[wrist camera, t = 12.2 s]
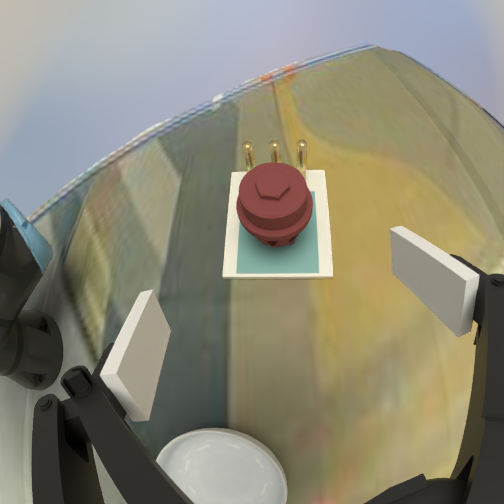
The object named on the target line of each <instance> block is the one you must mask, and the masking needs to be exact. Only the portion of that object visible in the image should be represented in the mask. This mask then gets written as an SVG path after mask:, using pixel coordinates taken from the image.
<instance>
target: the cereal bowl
mask: <svg viewBox="0 0 504 504" xmlns="http://www.w3.org/2000/svg"><path fill="white" fill-rule="evenodd" d="M156 462H157V463H158V464H159V465H160V467H161V468H162V469H163V470H164V471H165V472H166V474H167V475H168V476H169V477H170V478H171V479H172V480H173V481H174V483H175V484H176V485H177V486H178V487H179V488H180V489H181V490H182V491H183V492H184V493H185V494H186V495H187V496H188V497H189V499H190V500H191V501H192V502H193V503H194V504H286V501H287V494H288V491H287V489H288V487H287V479H286V476H285V472H284V470H283V468H282V466H281V464H280V462H279V461H278V459H277V458H276V456H275V455H274V454H273V453H272V452H271V450H269V449H268V448H267V447H266V446H265V445H263V444H262V443H261V442H259V441H258V440H256V439H254V438H253V437H251V436H249V435H247V434H244V433H242V432H238V431H235V430H231V429H225V428H204V429H197V430H194V431H190V432H187V433H185V434H182V435H180V436H178V437H176V438H175V439H173V440H172V441H170V442H169V443H168V444H167V445H166V446H165V447H164V448H163V449H162V451H161V452H160V454H159V455H158V457H157V459H156Z"/></svg>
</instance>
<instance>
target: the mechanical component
mask: <svg viewBox="0 0 504 504" xmlns="http://www.w3.org/2000/svg"><path fill="white" fill-rule="evenodd" d="M236 210H237V214H238V217H239V220H240V222H241V224H242V226H243V227H244V229H245V230H246V231H247V232H249V233H250V234H251V235H253V236H255V237H257V239H258V240H259V241H261V242H262V243H263V244H265V245H267V246H271V247H282V246H285V245H292V244H294V242H295V239H296V238H297V236H298V234H299V233H300V232H301V231H302V230H304V228H305V227H306V226H307V224H308V223H309V221H310V219H311V216H312V210H313V199H312V195H311V192H310V190H309V189H308V187H307V183H306V181H305V179H304V177H303V175H302V174H301V173H300V172H299V171H298V170H297V169H295V168H294V167H292V166H290V165H287V164H284V163H278V162H271V163H264V164H261V165H258V166H256V167H254V168H253V169H251V170H250V171H249V172H247V173H246V174H245V176H244V177H243V179H242V180H241V182H240V185H239V195H238V197H237V202H236Z"/></svg>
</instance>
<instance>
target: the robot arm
mask: <svg viewBox="0 0 504 504" xmlns="http://www.w3.org/2000/svg"><path fill="white" fill-rule="evenodd" d="M390 238H391V252H392V272H393V274H394V275H395V276H396V277H397V278H398V279H399V280H400V281H401V282H402V283H403V284H404V285H406V286H407V287H408V288H409V289H410V290H411V291H412V292H413V293H414V294H415V295H416V296H417V297H418V298H419V299H420V300H421V301H422V302H423V303H424V304H425V305H426V306H427V307H428V308H429V309H430V310H431V311H432V312H433V313H434V314H435V315H436V316H437V317H438V318H439V319H440V320H441V321H442V322H443V323H444V324H445V325H446V326H447V327H448V328H449V329H450V330H451V331H452V332H453V333H454V334H455V335H456V336H457V337H460V336H462V335H464V334H466V333H468V332H470V331H471V328H472V323H473V320H474V321H475V322H476V323H478V327H477V332H476V337H475V341H474V345H476V353H475V365H474V375H473V383H472V391H471V397H470V404H469V410H468V415H467V420H466V425H465V430H464V435H463V439H462V443H461V448H460V452H459V455H458V459H457V462H456V465H455V468H454V470H453V472H452V474H451V477H450V478H436V479H429V480H426V478H425V476H424V474H420V475H418V476H416V477H414V478H412V479H409V480H407V481H405V482H402V483H400V484H398V485H395V486H393V487H390V488H389V489H387V490H385V491H384V492H382V493H381V494H379V495H378V496H376V497H374V498H373V499H371V500H369V501H368V502H366V503H364V504H504V275H503V274H491V275H487V274H486V273H484V272H483V271H481V270H480V269H478V268H477V267H475V266H474V265H473V266H472V264H471V263H469V262H467V261H466V260H464V259H463V258H461V257H459V256H456V255H453V254H450V255H449V254H447V253H446V252H444V251H442V250H441V249H439V248H438V247H436V246H434V245H433V244H431V243H430V242H428V241H426V240H425V239H423V238H421V237H420V236H418V235H416V234H415V233H413V232H411V231H410V230H408V229H406V228H404V227H403V226H398V227H395V228H391V229H390ZM52 254H53V250H52V247H51V245H50V244H49V243H48V241H47V240H46V239H45V238H44V237H43V236H42V235H41V234H40V233H39V232H38V231H37V230H36V229H35V227H34V226H33V225H32V224H31V223H30V222H29V221H28V220H27V219H26V218H25V217H24V216H23V214H22V213H21V212H20V211H19V210H18V209H17V208H16V207H15V206H14V204H13V203H12V202H11V201H10V200H9V199H5V200H4V201H2V202H1V203H0V375H3V376H7V377H9V378H10V379H12V380H13V381H15V382H17V383H19V384H20V385H22V386H24V387H26V388H29V389H37V390H41V389H45V388H47V387H49V386H50V385H51V384H52V383H53V382H54V381H55V379H56V378H57V376H58V373H59V371H60V368H61V363H62V355H63V348H62V340H61V335H60V332H59V329H58V327H57V325H56V324H55V322H54V321H53V319H52V318H51V317H49V316H48V315H47V314H44V313H42V312H39V311H36V310H22V308H23V306H24V305H25V303H26V301H27V300H28V298H29V296H30V295H31V293H32V291H33V290H34V288H35V286H36V285H37V283H38V282H39V280H40V279H41V277H42V276H43V275H44V271H45V269H46V267H47V266H48V264H49V262H50V260H51V259H52ZM170 333H171V330H170V328H169V325H168V323H167V321H166V319H165V316H164V314H163V312H162V310H161V307H160V305H159V303H158V300H157V298H156V296H155V293H154V291H153V290H149V291H145V292H140V294H139V296H138V298H137V300H136V302H135V304H134V306H133V308H132V310H131V312H130V313H129V315H128V317H127V319H126V321H125V323H124V325H123V327H122V329H121V331H120V333H119V335H118V337H117V339H116V341H115V343H111V344H110V345H109V346H108V347H107V348H106V349H105V350H104V352H103V354H102V356H101V359H100V360H99V362H98V365H97V366H96V368H95V370H94V372H93V374H92V375H91V374H90V372H89V371H88V369H87V368H86V367H85V366H75V367H73V368H71V369H70V370H68V371H67V372H66V373H65V374H64V375H63V376H62V378H61V385H62V387H63V388H64V389H65V391H66V392H67V393H68V395H69V396H70V397H71V398H70V399H67V400H64V401H61V402H60V400H59V399H58V398H57V396H55V395H54V394H48V395H45V396H44V397H41V399H39V400H38V402H37V403H36V405H35V408H34V418H33V433H32V493H33V504H105V503H104V499H103V495H102V491H101V487H100V483H99V479H98V474H97V470H96V465H95V460H94V455H93V449H92V444H93V446H94V448H95V450H96V452H97V454H98V456H99V457H100V459H101V461H102V463H103V465H104V466H105V468H106V470H107V472H108V473H109V475H110V477H111V478H112V480H113V482H114V483H115V485H116V487H117V488H118V490H119V491H120V493H121V494H122V496H123V498H124V499H125V501H126V502H127V504H194V503H193V502H192V501H191V500H190V499H189V497H188V496H187V495H186V494H185V493H184V492H183V491H182V490H181V489H180V488H179V487H178V486H177V485H176V484H175V483H174V481H173V480H172V479H171V478H170V477H169V476H168V475H167V474H166V472H165V471H164V470H163V469H162V468H161V467H160V465H159V464H158V463H157V462H156V461H155V459H154V458H153V457H152V456H151V454H150V453H149V452H148V451H147V449H146V448H145V447H144V446H143V444H142V443H141V442H140V440H139V439H138V438H137V436H136V435H135V434H134V432H133V431H132V430H131V428H130V427H129V425H128V424H127V423H126V422H125V420H124V419H125V416H126V413H127V414H128V416H129V417H130V418H131V420H132V421H133V422H135V421H149V418H150V413H151V409H152V404H153V400H154V396H155V392H156V387H157V383H158V379H159V375H160V371H161V367H162V363H163V359H164V355H165V352H166V348H167V344H168V340H169V336H170ZM91 442H92V443H91Z"/></svg>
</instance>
